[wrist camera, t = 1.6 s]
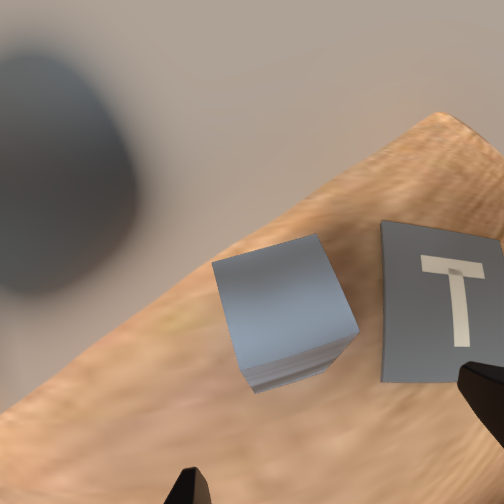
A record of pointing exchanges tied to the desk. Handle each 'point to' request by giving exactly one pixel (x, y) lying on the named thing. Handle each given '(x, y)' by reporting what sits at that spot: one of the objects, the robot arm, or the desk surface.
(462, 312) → the board
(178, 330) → the desk surface
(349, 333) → the grey rectangular block
